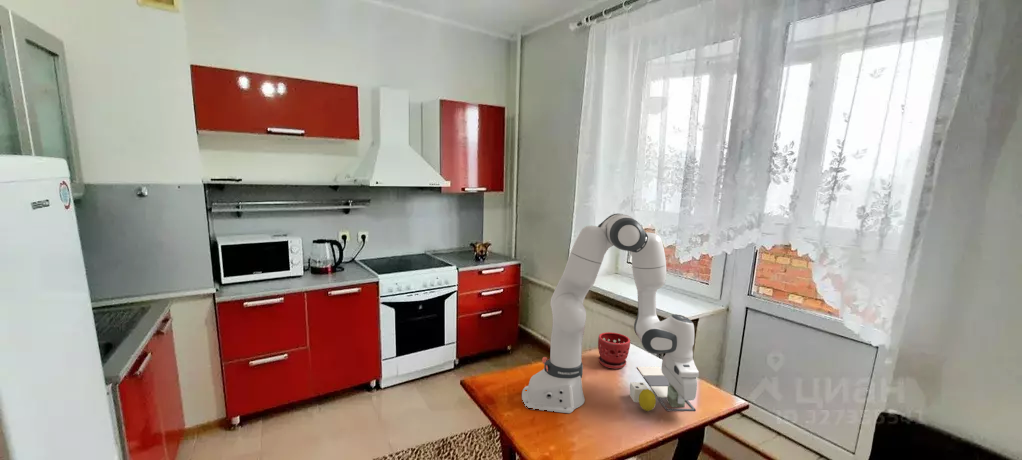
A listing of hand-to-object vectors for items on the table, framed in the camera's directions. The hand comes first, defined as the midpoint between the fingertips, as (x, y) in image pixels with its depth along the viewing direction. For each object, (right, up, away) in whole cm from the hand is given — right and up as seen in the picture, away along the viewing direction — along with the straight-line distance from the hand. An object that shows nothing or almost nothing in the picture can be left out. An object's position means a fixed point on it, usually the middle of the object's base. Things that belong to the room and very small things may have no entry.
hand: (675, 398), depth 144 cm
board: (0, -1, +12) cm, 12 cm away
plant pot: (-15, +2, +30) cm, 34 cm away
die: (-12, -2, +3) cm, 13 cm away
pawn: (0, -2, 0) cm, 2 cm away
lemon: (-12, -3, -4) cm, 13 cm away
